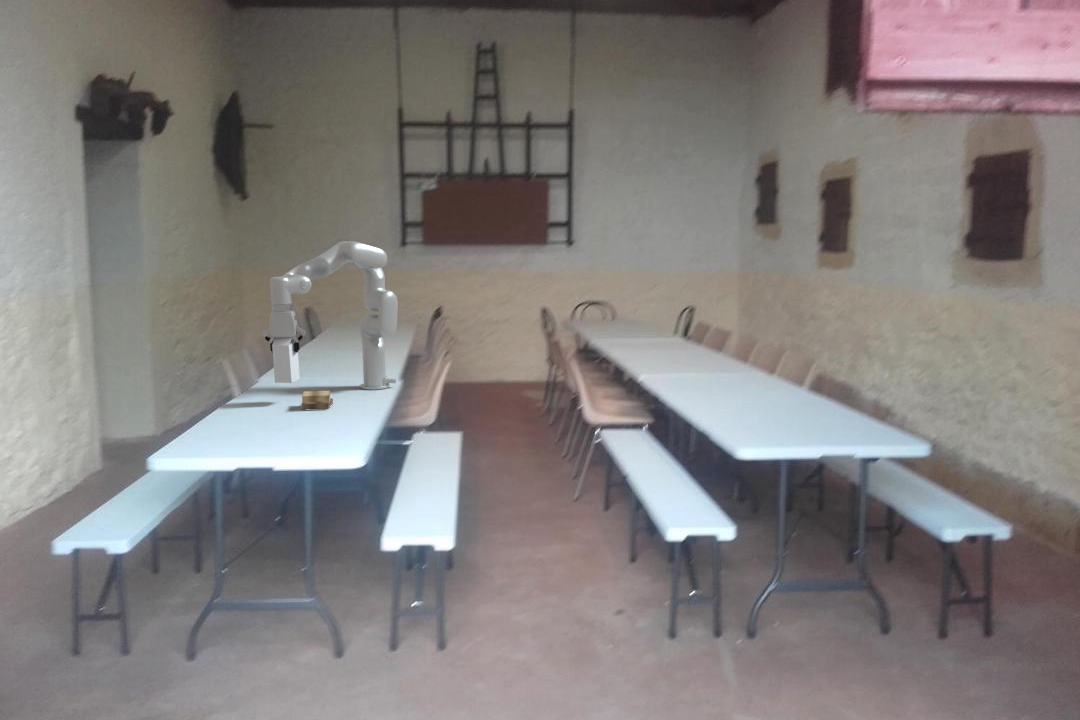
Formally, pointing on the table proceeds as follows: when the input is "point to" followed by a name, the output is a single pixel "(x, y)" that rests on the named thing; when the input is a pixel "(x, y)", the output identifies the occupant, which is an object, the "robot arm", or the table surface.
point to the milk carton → (285, 360)
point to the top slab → (315, 397)
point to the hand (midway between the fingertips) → (285, 352)
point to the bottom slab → (318, 405)
